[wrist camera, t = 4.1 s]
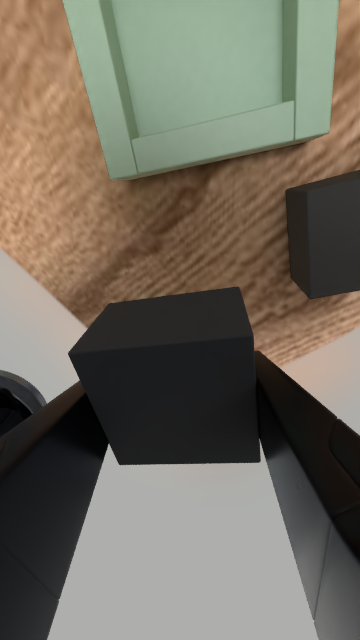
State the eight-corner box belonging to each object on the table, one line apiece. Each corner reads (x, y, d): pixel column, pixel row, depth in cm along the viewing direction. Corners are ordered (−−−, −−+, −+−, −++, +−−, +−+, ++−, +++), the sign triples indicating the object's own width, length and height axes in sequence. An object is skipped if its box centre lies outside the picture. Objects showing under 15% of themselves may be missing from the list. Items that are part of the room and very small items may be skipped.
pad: (140, 397, 11) (118, 465, 8) (108, 303, 9) (66, 353, 6) (247, 391, 10) (260, 463, 8) (239, 285, 8) (254, 335, 6)
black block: (290, 278, 14) (309, 300, 11) (284, 189, 12) (306, 191, 10) (382, 260, 13) (424, 279, 11) (392, 161, 11) (448, 154, 9)
